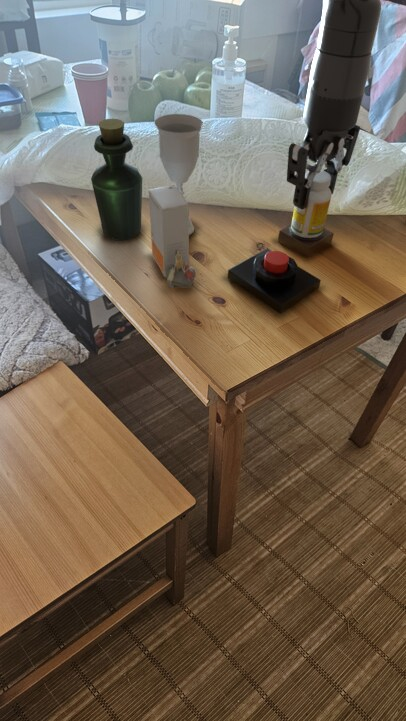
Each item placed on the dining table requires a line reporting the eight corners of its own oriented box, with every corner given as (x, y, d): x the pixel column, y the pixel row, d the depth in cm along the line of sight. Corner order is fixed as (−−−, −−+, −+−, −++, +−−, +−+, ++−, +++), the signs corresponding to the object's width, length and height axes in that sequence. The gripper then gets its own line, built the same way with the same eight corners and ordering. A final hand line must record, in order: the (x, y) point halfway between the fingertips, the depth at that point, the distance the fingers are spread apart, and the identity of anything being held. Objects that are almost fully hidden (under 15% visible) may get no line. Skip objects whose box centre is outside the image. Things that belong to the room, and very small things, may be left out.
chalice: (154, 237, 87) (149, 129, 74) (163, 216, 91) (159, 112, 78) (196, 242, 86) (199, 134, 73) (203, 220, 91) (206, 116, 77)
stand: (331, 244, 87) (334, 231, 85) (307, 258, 84) (309, 245, 82) (302, 228, 90) (304, 215, 88) (277, 241, 87) (279, 228, 85)
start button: (292, 268, 76) (294, 258, 75) (276, 277, 75) (277, 267, 73) (274, 257, 78) (276, 247, 77) (258, 266, 77) (259, 256, 75)
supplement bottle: (287, 235, 84) (297, 180, 77) (294, 219, 87) (303, 165, 80) (320, 242, 82) (332, 186, 76) (325, 225, 86) (338, 171, 79)
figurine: (183, 271, 80) (183, 238, 76) (203, 283, 78) (204, 250, 74) (158, 285, 78) (157, 252, 73) (178, 298, 76) (178, 265, 71)
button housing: (318, 288, 78) (323, 270, 76) (280, 313, 74) (283, 295, 71) (266, 256, 84) (268, 238, 81) (227, 278, 79) (228, 259, 77)
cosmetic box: (151, 257, 83) (147, 188, 74) (175, 251, 84) (174, 183, 75) (164, 278, 79) (162, 209, 70) (189, 272, 80) (190, 203, 71)
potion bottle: (123, 212, 92) (113, 108, 79) (155, 229, 88) (150, 123, 75) (88, 230, 87) (71, 123, 74) (120, 249, 84) (109, 140, 71)
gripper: (325, 107, 63) (302, 225, 76) (389, 83, 70) (359, 194, 82) (280, 90, 67) (265, 205, 79) (345, 68, 74) (322, 177, 86)
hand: (313, 199), depth 81 cm, fingers open, 6 cm apart
